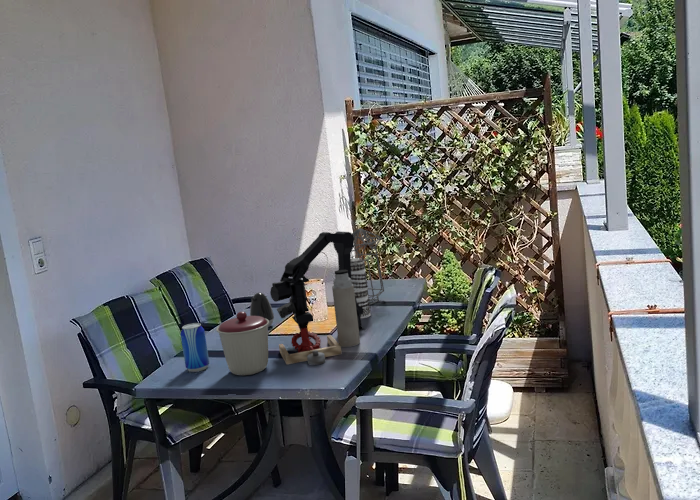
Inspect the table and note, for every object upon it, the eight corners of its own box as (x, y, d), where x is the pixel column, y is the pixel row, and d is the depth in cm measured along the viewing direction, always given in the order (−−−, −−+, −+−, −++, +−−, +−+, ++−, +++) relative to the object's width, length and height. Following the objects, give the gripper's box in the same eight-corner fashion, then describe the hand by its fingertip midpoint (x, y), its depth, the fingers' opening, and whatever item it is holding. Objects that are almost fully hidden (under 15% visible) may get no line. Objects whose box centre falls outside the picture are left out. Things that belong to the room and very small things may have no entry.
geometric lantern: (390, 298, 305) (382, 225, 298) (373, 308, 292) (365, 232, 286) (361, 297, 314) (353, 225, 307) (344, 306, 301) (335, 232, 294)
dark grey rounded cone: (246, 330, 278) (241, 295, 276) (260, 323, 287) (255, 289, 285) (265, 331, 274) (261, 296, 271) (279, 324, 283) (275, 289, 280)
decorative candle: (346, 319, 278) (340, 261, 274) (354, 313, 287) (348, 257, 283) (366, 319, 275) (360, 261, 271) (374, 312, 283) (368, 256, 279)
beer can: (188, 366, 239) (181, 324, 237) (211, 363, 240) (204, 321, 237) (184, 374, 231) (177, 330, 228) (208, 370, 231) (201, 327, 229)
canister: (252, 382, 215) (243, 320, 211) (211, 377, 224) (203, 317, 221) (285, 363, 230) (278, 305, 226) (246, 359, 239) (238, 303, 236)
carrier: (331, 342, 248) (330, 332, 248) (346, 359, 227) (345, 348, 227) (279, 352, 243) (278, 341, 243) (289, 370, 222) (288, 359, 222)
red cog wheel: (301, 356, 235) (298, 334, 234) (288, 349, 246) (285, 327, 244) (327, 349, 240) (325, 327, 239) (314, 342, 250) (311, 321, 249)
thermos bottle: (343, 340, 250) (334, 268, 245) (362, 340, 247) (354, 267, 242) (335, 346, 242) (327, 273, 238) (356, 346, 239) (347, 272, 235)
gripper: (273, 293, 252) (278, 332, 255) (280, 304, 234) (286, 345, 237) (301, 289, 255) (306, 327, 257) (311, 299, 237) (316, 340, 239)
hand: (303, 335), depth 248 cm, fingers closed
